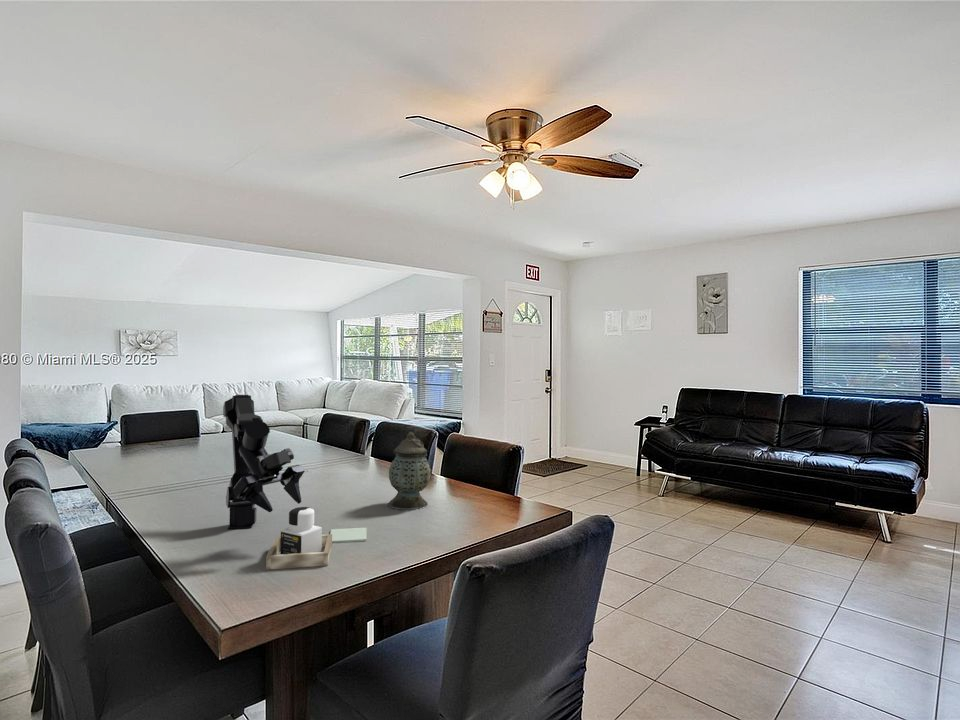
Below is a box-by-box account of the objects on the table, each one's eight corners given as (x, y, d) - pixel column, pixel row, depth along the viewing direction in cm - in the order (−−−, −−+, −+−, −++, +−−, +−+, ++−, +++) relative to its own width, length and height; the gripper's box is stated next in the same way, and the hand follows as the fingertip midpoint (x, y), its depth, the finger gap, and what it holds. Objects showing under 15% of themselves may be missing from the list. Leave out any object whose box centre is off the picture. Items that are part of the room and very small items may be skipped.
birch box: (266, 569, 125) (266, 556, 125) (276, 548, 138) (276, 536, 138) (327, 565, 128) (328, 553, 128) (331, 545, 141) (332, 534, 141)
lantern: (409, 497, 191) (410, 428, 191) (438, 504, 182) (439, 431, 182) (379, 505, 180) (380, 431, 180) (408, 513, 171) (409, 436, 171)
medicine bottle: (279, 558, 131) (280, 510, 131) (301, 549, 138) (302, 503, 138) (300, 564, 128) (301, 514, 128) (322, 554, 134) (322, 507, 134)
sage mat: (328, 542, 143) (328, 541, 143) (331, 530, 153) (331, 529, 153) (366, 540, 145) (366, 539, 145) (366, 529, 155) (366, 527, 155)
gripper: (241, 444, 130) (271, 495, 124) (300, 435, 146) (329, 480, 141) (220, 472, 133) (248, 523, 128) (280, 460, 150) (307, 505, 145)
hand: (286, 506), depth 135 cm, fingers open, 9 cm apart
